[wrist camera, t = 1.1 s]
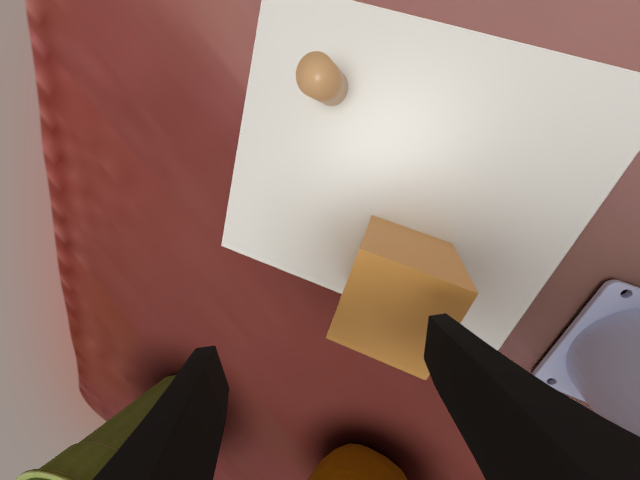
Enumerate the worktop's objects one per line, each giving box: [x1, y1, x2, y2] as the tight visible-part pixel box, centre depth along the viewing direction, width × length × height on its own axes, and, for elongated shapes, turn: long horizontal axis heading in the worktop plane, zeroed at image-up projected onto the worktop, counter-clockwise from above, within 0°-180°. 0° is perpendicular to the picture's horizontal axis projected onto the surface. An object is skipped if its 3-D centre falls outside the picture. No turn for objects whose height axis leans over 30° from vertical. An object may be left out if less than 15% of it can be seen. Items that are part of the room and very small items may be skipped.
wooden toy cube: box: [326, 215, 479, 380], centre depth 15 cm, size 5×5×6 cm
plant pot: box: [16, 375, 176, 480], centre depth 24 cm, size 12×12×11 cm
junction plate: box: [221, 0, 640, 351], centre depth 15 cm, size 20×16×4 cm
